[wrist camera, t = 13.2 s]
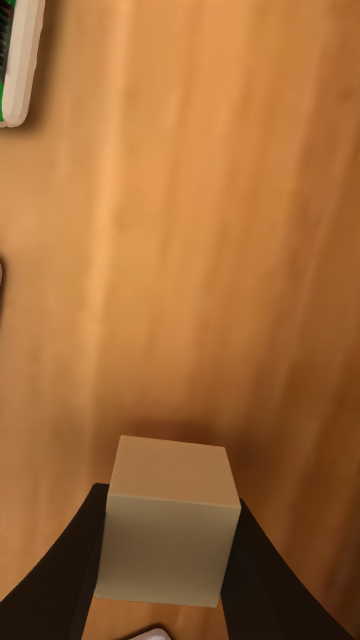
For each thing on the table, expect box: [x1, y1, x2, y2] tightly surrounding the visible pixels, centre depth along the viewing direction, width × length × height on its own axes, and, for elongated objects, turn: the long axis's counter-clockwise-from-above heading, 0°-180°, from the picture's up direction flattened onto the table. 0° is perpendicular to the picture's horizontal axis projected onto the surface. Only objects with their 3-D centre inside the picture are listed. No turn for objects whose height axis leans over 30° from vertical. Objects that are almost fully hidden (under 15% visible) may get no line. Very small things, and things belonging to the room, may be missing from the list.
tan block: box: [95, 435, 241, 608], centre depth 12 cm, size 4×4×3 cm
